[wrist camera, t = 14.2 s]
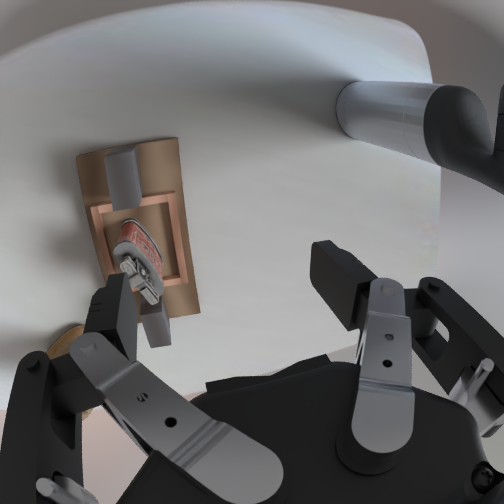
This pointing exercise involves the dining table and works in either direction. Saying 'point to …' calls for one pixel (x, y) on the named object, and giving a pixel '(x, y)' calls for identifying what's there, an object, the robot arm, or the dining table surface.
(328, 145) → the dining table surface
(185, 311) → the rail
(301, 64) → the dining table surface
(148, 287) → the lighter
